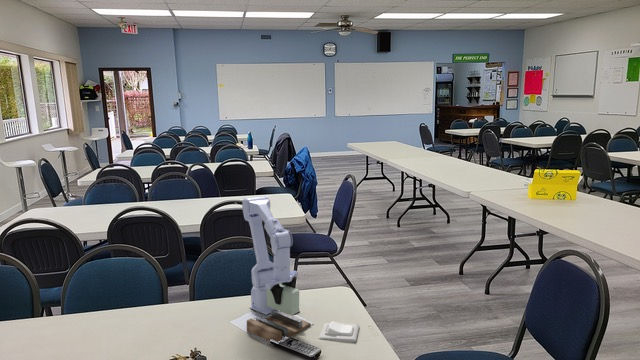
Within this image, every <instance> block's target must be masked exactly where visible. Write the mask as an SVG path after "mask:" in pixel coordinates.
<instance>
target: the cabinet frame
mask: <svg viewBox="0 0 640 360" xmlns="http://www.w3.org/2000/svg"><path fill="white" fill-rule="evenodd" d="M311 325H312V324H311V322H309V321H307V320H304V319H301V318H298V317H296V316H295V315H294V316H293V315H289V314H287V313H284V312H282V311H279V310H276V309H273V310H271V313H270V316H268V317H266V318H264V317H262V316H257V317H255V319H253V318H249V319H246V332H248V333H249V334H250V333H251V334H252V335H255V336H256V337H259V338H260V339H263V340H264V341H265V340H266V341H268V342H269V341H270V339H273V340H275V341H277V342H278V341H280V340H282V336H284V337H285V336H287V337H291V338H292V337H294V336H296V335H298V334H299V333H301V332H302V331H304V330H306V329H308V328H309V327H311Z"/></svg>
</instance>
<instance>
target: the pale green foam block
mask: <svg viewBox="0 0 640 360" xmlns="http://www.w3.org/2000/svg"><path fill="white" fill-rule="evenodd" d="M279 285H280V287H283V291H282V296H281V304H280V305H278V304H276V303H275V300H274V297H273V294H272V292H271V290H270V289H267V306H269V307H271V308H274V309H276V310H278V311H282V312H284V313H287V314H289V315H292V316H293V315H294V316H295V315H296V314H297V313H299V312H300V289H298V288H295V287H293V288H292V287H289V286H286V285H283V284H282V283H280V284H279Z"/></svg>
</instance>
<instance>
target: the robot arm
mask: <svg viewBox="0 0 640 360" xmlns="http://www.w3.org/2000/svg"><path fill="white" fill-rule="evenodd" d="M241 203H242V205H241V208H242V214H243V218H244V221H246V222H248V225H249V227H250V233H251V238H252V244H253V249H254V255H255V258H256V264H255V265H254V266H253V267H252V268H251V271H250V272H251V283H252V288H251V290H250V303H251V305H250V306H249V309H252V310H255V311H257V312H259V313H261V314H263V315H266V316H267V315H269V314H271V310H273V309H274V308H271V307H269V306H267V289H270V290H271V292H272V294H273V297H274V300H275V303H276V304H278V305H280V304H281V296H282V291H283V287H280V285H279V284H283V285H286V286H289V287H292V288H294V286H295V285H296V282H297V281H296V279H293V278H297V277H298V276H299V275H298V272H299V271H297V270H291V253H290V252H291V247H292V246H293V243H294V240H293V234H292V233H291V231H290V230H287V229H286V228H284V227H283V225H282V223H281V222H280V220H279V219H278V218H276V217H274V216H273V213H272V211H271V200H270V198H269V197H268V196H267V195H264V196H263V195H262V196H257V197H255V196H254V197H244V198H243V200H242V202H241ZM263 223H264V226H263ZM264 230H265V231H266V232H267V235H268V236H269V238H270V241H269V242H270V245H271V252H272V254H273V261H270V257H269V252H268V247H267V246H268V245H267V242H266V236H265V231H264Z"/></svg>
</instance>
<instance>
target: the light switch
mask: <svg viewBox="0 0 640 360" xmlns="http://www.w3.org/2000/svg"><path fill="white" fill-rule="evenodd" d="M359 329H360V325H359V324H358V323H343V322H342V323H341V322H338V321H333V320H332V321H330V322H325V323H324V324H323V327H322V329H321V332H320V334H319V337H318V340H325V341H335V342H342V343H343V342H344V343H356V342H357V339H358V334H359Z"/></svg>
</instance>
